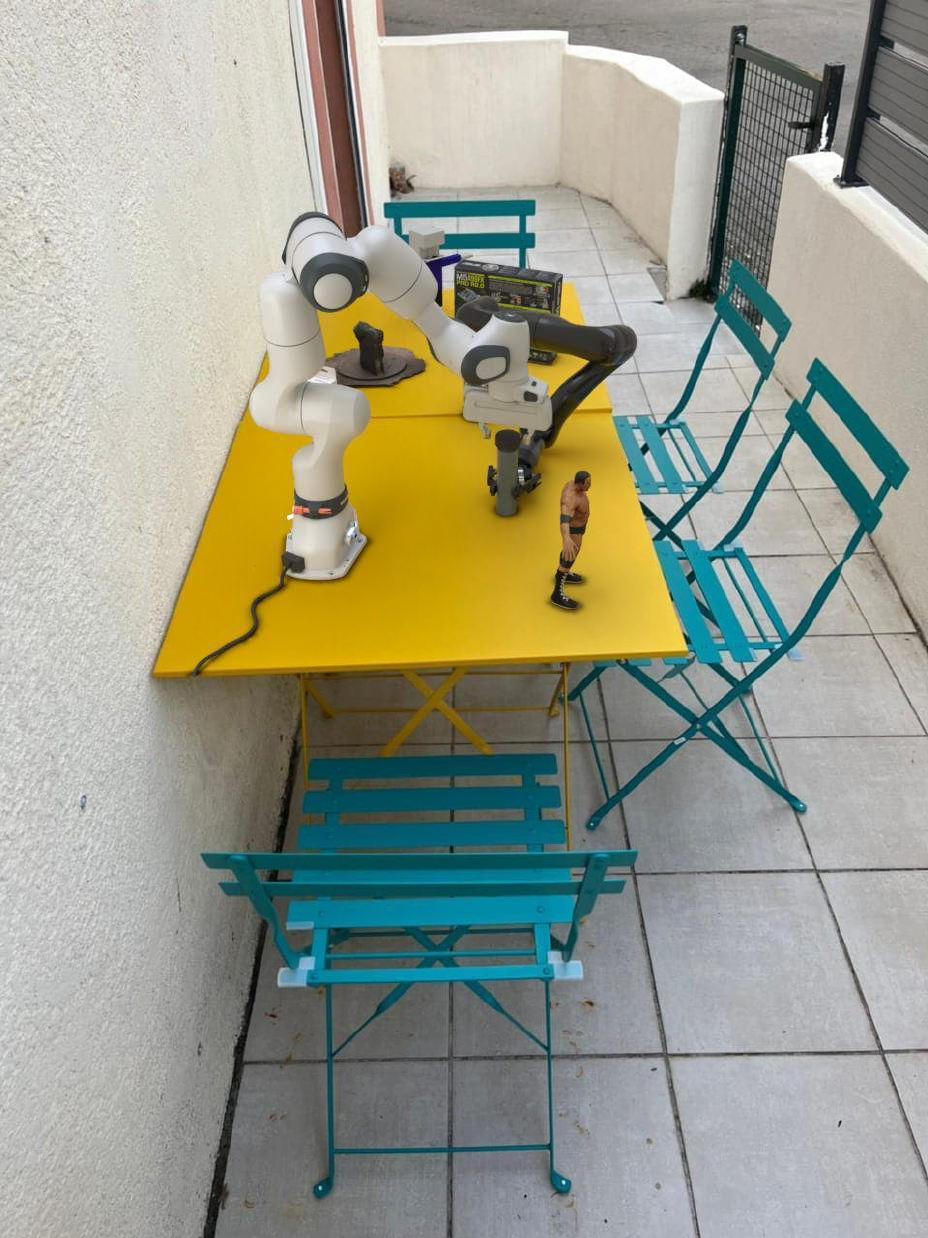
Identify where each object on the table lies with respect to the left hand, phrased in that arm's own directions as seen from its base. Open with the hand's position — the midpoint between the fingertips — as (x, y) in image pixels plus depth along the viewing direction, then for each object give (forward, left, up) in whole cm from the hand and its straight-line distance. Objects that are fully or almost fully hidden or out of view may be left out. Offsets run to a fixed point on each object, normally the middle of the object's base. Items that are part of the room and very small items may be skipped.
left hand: (506, 440), depth 205 cm
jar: (-1, 0, -19) cm, 19 cm away
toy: (+116, +32, -19) cm, 122 cm away
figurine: (-32, -15, -19) cm, 40 cm away
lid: (-1, 0, +2) cm, 2 cm away
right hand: (-3, 0, -12) cm, 13 cm away
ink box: (+43, +54, -19) cm, 72 cm away
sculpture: (+77, +47, -19) cm, 92 cm away
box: (+91, +5, -19) cm, 93 cm away
